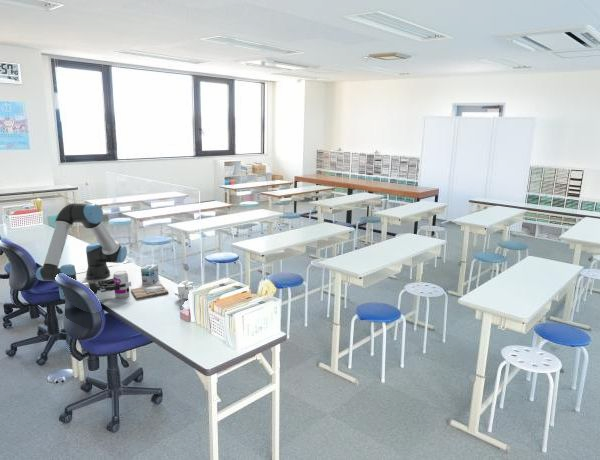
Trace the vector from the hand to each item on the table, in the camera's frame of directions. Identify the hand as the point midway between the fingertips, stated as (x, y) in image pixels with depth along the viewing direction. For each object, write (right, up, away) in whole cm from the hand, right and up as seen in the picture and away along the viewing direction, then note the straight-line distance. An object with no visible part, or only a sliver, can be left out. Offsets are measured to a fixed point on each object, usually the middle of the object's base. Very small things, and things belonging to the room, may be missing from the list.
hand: (129, 281), depth 275 cm
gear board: (+11, -8, +5) cm, 14 cm away
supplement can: (-4, -9, 0) cm, 10 cm away
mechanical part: (+35, -10, -5) cm, 37 cm away
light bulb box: (+5, -3, +24) cm, 25 cm away
